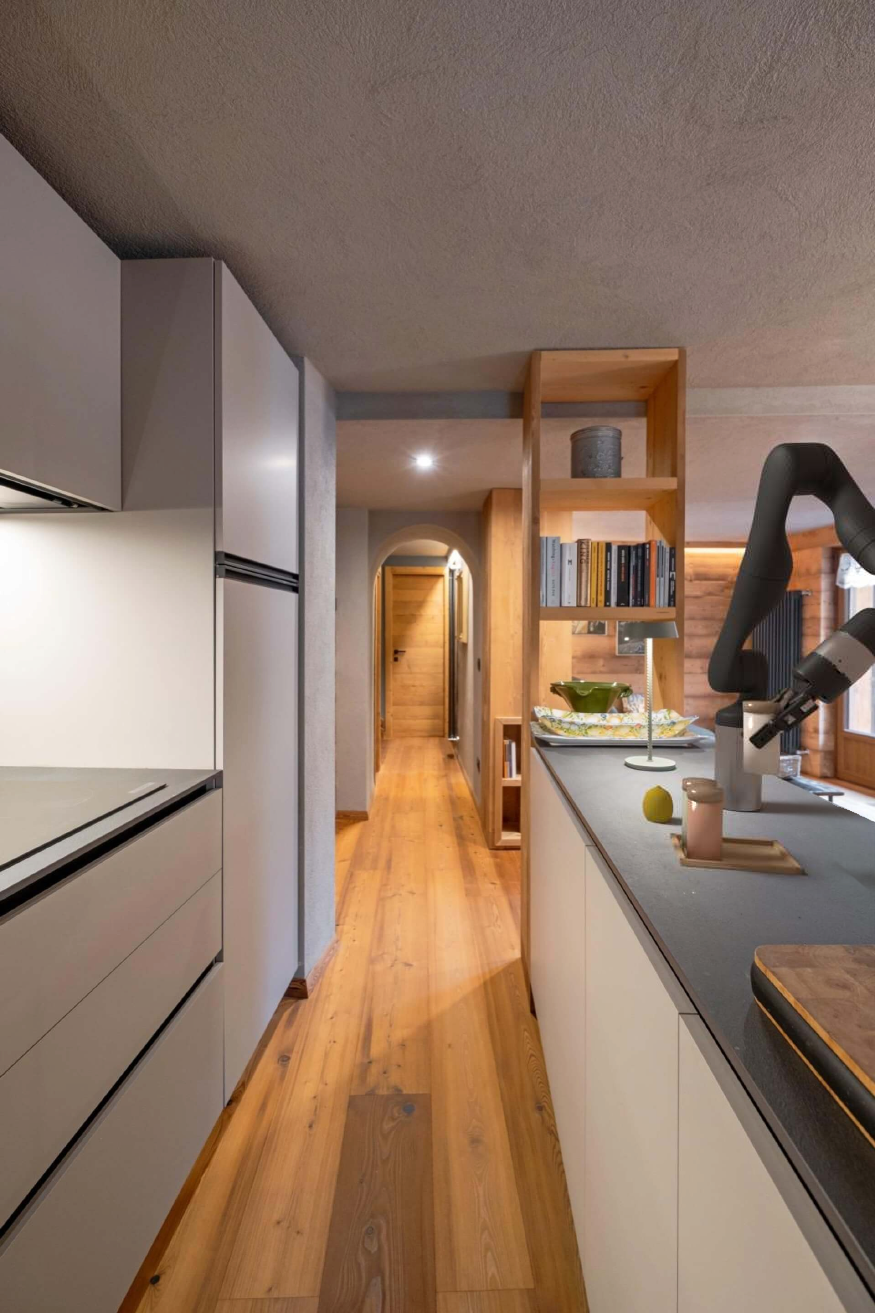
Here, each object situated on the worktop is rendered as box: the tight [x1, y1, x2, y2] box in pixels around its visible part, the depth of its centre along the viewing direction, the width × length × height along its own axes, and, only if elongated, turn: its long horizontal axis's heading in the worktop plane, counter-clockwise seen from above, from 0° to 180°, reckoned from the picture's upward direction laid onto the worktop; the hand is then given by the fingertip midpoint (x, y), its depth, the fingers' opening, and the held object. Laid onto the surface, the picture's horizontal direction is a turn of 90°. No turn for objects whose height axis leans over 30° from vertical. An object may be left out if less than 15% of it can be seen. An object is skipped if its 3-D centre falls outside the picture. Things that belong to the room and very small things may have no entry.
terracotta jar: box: [686, 785, 724, 861], centre depth 106 cm, size 5×5×11 cm
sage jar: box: [681, 776, 717, 849], centre depth 111 cm, size 5×5×11 cm
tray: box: [669, 832, 804, 876], centre depth 108 cm, size 14×17×2 cm
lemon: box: [642, 785, 674, 824], centre depth 127 cm, size 6×6×8 cm
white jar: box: [743, 700, 781, 776], centre depth 107 cm, size 5×5×11 cm
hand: (749, 741), depth 107 cm, fingers closed on white jar, 5 cm apart
